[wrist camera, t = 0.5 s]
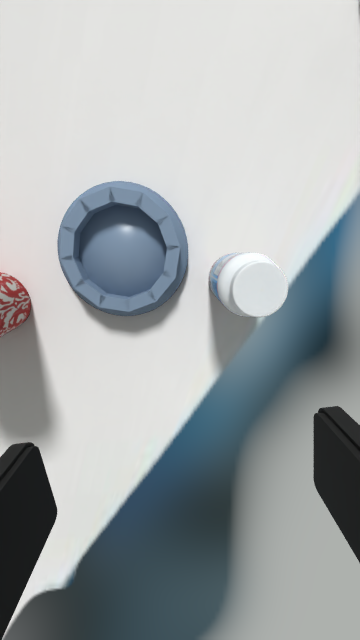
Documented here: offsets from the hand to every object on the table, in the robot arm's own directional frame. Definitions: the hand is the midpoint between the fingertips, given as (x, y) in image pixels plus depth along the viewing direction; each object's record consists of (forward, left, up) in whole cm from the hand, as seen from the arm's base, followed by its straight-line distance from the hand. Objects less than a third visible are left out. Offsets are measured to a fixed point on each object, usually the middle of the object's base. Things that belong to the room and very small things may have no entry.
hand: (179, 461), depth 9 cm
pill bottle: (-7, +3, -25) cm, 27 cm away
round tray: (-1, -9, -25) cm, 27 cm away
